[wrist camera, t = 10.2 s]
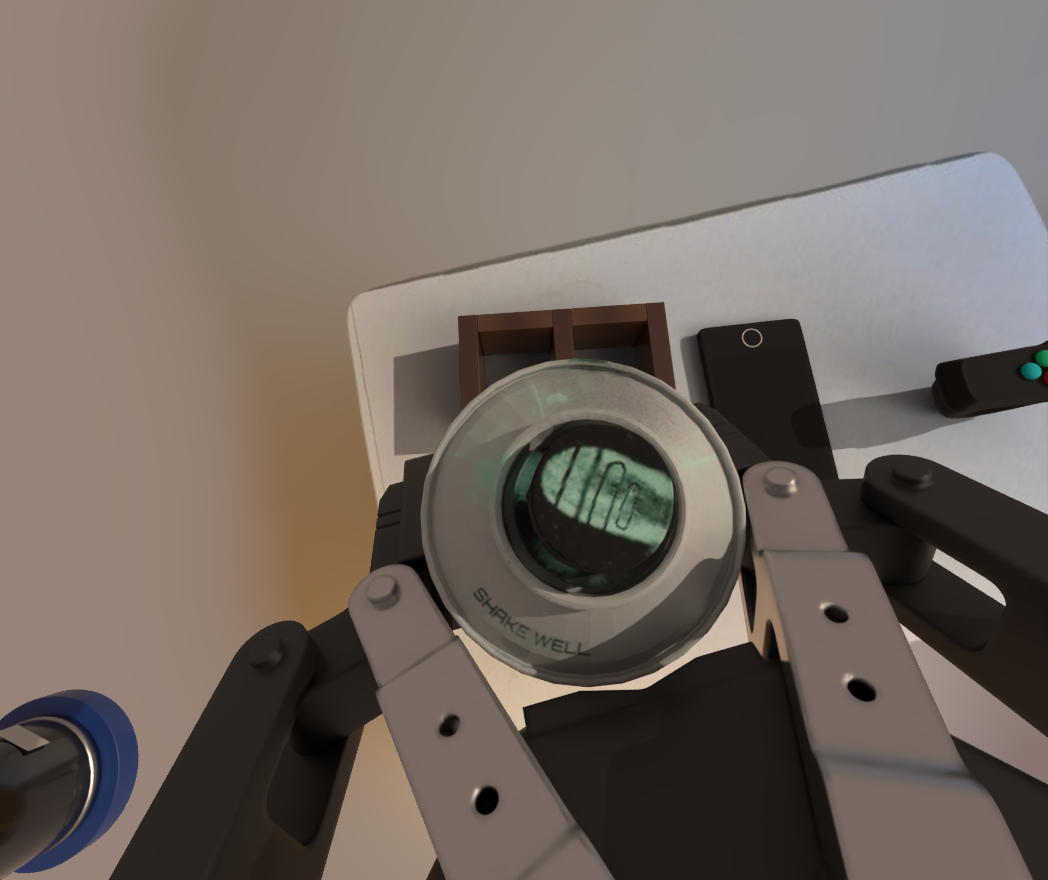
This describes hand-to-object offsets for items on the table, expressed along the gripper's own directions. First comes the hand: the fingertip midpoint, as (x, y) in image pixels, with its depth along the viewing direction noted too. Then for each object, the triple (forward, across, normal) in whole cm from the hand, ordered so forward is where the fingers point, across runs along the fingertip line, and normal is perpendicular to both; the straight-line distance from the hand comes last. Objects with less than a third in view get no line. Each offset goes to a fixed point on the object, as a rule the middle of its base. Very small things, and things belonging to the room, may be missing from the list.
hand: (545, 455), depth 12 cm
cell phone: (+22, -21, +18) cm, 35 cm away
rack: (+27, -5, +12) cm, 30 cm away
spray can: (+8, 0, +11) cm, 14 cm away
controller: (+20, -37, +20) cm, 46 cm away
